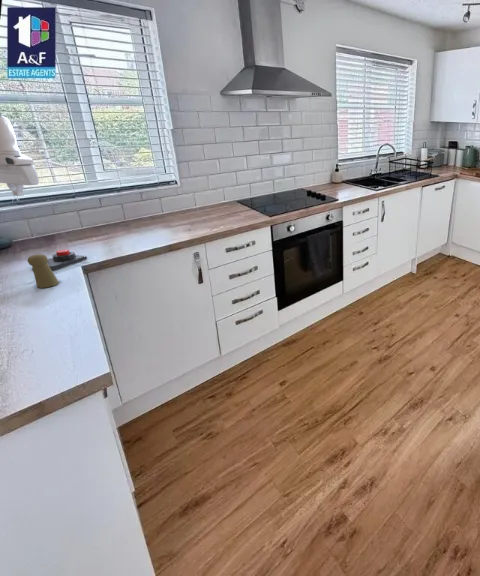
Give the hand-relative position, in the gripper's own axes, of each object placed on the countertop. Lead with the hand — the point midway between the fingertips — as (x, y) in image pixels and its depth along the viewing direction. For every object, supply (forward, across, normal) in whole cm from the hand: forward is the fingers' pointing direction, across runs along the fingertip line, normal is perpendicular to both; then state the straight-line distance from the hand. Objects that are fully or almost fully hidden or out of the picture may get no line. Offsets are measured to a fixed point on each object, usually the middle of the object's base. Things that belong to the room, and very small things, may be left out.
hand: (18, 195), depth 146 cm
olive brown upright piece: (+27, +31, -20) cm, 46 cm away
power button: (+22, +17, -3) cm, 28 cm away
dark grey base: (+27, +17, -4) cm, 32 cm away
